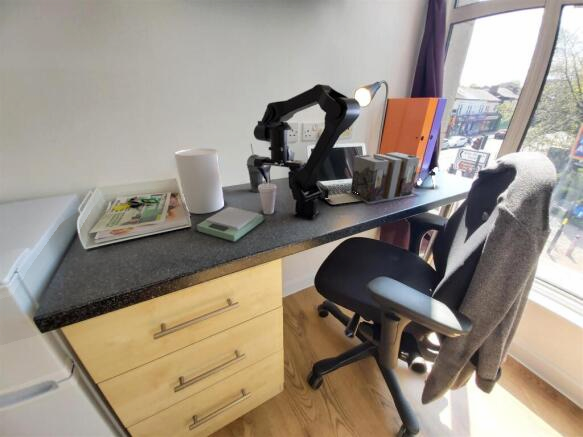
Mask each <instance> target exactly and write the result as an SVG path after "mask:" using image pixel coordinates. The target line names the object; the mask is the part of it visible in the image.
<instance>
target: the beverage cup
mask: <svg viewBox="0 0 583 437" xmlns="http://www.w3.org/2000/svg"><path fill="white" fill-rule="evenodd" d="M250 149H251V153H252V154H251V155H250V156H249V157H247V159H246V167H247V170H248V176H249V181H250V188H251V191H252V192H254V193H260V192H259V190H258V186H259V185H261V184H263V179H264V177H263V175H262V174H261V172H260V171H259V170H258V169H257V167H254V164H253V161H254V159H255V158H258V157H261V156H260V155H259V154H254V148H253V143H250Z"/></svg>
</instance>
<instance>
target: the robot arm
mask: <svg viewBox="0 0 583 437" xmlns="http://www.w3.org/2000/svg"><path fill="white" fill-rule="evenodd" d="M316 105H318V106H319V107H320V110H322V111H323V112H324V113H325V115H324V128H323V130H322V131H321V134H320V136H319V138H318V139H317V141H316V143H315V144H314V147H313V149H312V150H311V153H310V155H309V156H308V159H307V161H305V160H300V159H299V160H298V159H295V156H296V155H295V154H296V153H295V152H294V151H293V150H290V145H288V131H291V130H293V128H292V126H291V125H290V124H289V123H288V121H289V120H291V119H292V118H293V117H294V115H296V113H299V112H301V111H305V110H307V109H309V108H311V107H314V106H316ZM361 112H362V110H361V105H360V102H359V101H358V99H356V98H354V97H349V96H347V95H345V94H344V93H341V92H340V91H337V90H336V89H334V88H333V87H332V86H330V85H328V84H323V83H322V84H321V83H319V84H317V83H316V84H315V85H313V87H311V88H309V89H306V90H305V91H303V92H301V93H299V94H296V95H295V96H292V97H290V98H288V99H286V100H280V101H272V102H269V103H267V105H266V108H265V111H264V113H263V116H262V118H261V120H258V121H257V124H256V125H255V127H254V129H253V137H254V138H255V140H257V141H260V142H267V143H270V145H269V146H268V151H270V157H269V156H263V155H262V156H260V157H258V158H255V159H254V161H253V164H254V167H257V169H258V170H259V171H260V172H261V174H262V175H263V179H264V181H265V183H268V177H267V174H269V183H271V168H272V166H273V167H281V168H288V170H289V171H288V173H287V174H288V188H289V190H291V194H292V198H293V200H294V201H295V209H294V210H295V213H294V217H297V218H301V219H306V220H310V221H311V220H313V219H314V218H315V217H316V216H317V215H318V214H319V211H318V198H320V196H321V193H322V191H321V189H320V188H319V186H318V185H317V181H318V182H319V172H320V170H321V169H322V167H323V165H324V163H325V162H326V160H327V159H328V158H329V155H330V154H331V152H332V150H333V149H334V147H335V145H336V143H337V141H338V140H339V138H340V136H341V135H342V134H343V133H345V132H346V131H347V130H348V129H349V128H351V127H352V125H353V124H354V123H355V122H356V121H357V119H358V118H359V116H360V115H361Z"/></svg>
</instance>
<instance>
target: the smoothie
mask: <svg viewBox="0 0 583 437" xmlns="http://www.w3.org/2000/svg"><path fill="white" fill-rule="evenodd" d="M267 177H268V183H266V182H265V183H262V184H261V185H259V186H258V190H259V192H258V193H259V196H260V202H261V207H262V213H263V214H264V215H273V214H274V212H275V203H276V193H277V189H278V188H277V187H278V186H277V184H275V183H271V182H270V183H269V174H267Z"/></svg>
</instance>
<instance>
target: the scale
mask: <svg viewBox="0 0 583 437" xmlns="http://www.w3.org/2000/svg"><path fill="white" fill-rule="evenodd" d="M263 221H264V215H263V214H260V213H258V212H255V211H249V210H245V209H241V208H237V207H232V206H228V207H227V208H226V207H225V209H222V210H221V211H219V212H217V213H215V214H213V215H212V216H210V217H208V218H206V219H205V220H203V221H201V222H200V223H198V224H196V230H197V232H200V233H204V234H206V235H211V236H214V237H217V238H221V239H225V240H228V241H231V242H234V243H235V242H237V241H238V240H239V239H241V237H243V236H244V235H246V234H247V233H249V232H250V231H251V230H252V229H254V228H255V227H256V226H258V225H260V224H261V223H262V222H263Z"/></svg>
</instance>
